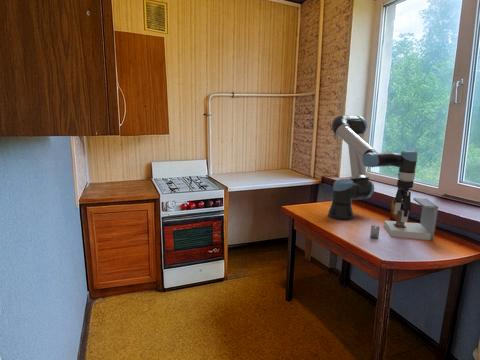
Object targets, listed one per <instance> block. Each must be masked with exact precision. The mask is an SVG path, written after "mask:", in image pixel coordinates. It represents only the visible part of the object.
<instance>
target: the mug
mask: <svg viewBox="0 0 480 360" xmlns="http://www.w3.org/2000/svg"><path fill="white" fill-rule="evenodd" d="M395 201H396V200H395V199H392V201H391V207H390V216H389V221H396V219H397V214H394V211H395V204H396V202H395ZM402 209H403V204H401V208H400V210H402ZM409 213H410V211H409V212H408V215H409ZM408 221H409V218H408V219H407V222H408Z"/></svg>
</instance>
